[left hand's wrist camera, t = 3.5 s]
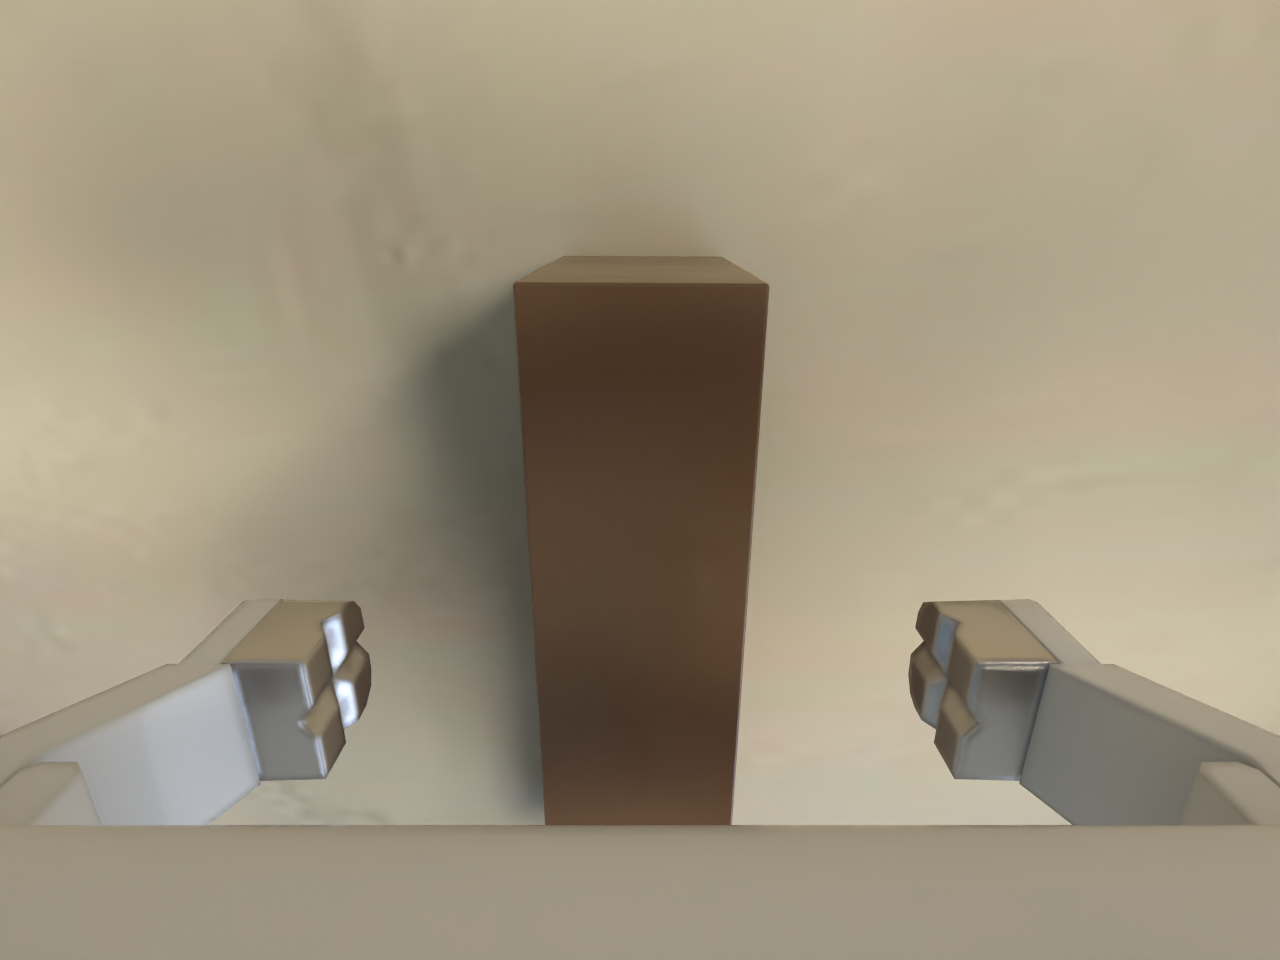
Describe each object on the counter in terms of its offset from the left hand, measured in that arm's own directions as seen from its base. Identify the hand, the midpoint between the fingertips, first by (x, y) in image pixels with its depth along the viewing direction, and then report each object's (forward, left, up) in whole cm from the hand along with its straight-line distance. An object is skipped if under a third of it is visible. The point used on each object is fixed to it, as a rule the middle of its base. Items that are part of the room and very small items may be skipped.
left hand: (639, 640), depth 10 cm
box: (+9, +2, -19) cm, 21 cm away
